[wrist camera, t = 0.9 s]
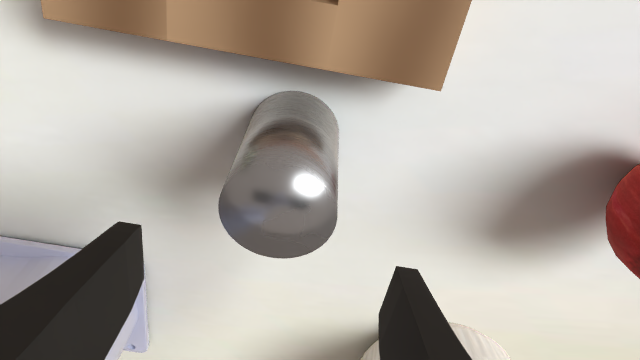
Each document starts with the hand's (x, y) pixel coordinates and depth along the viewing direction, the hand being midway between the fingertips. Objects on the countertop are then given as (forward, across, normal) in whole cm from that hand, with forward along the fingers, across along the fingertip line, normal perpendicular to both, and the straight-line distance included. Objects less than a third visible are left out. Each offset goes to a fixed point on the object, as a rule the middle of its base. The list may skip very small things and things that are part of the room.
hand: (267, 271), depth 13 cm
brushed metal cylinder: (+9, 0, 0) cm, 9 cm away
